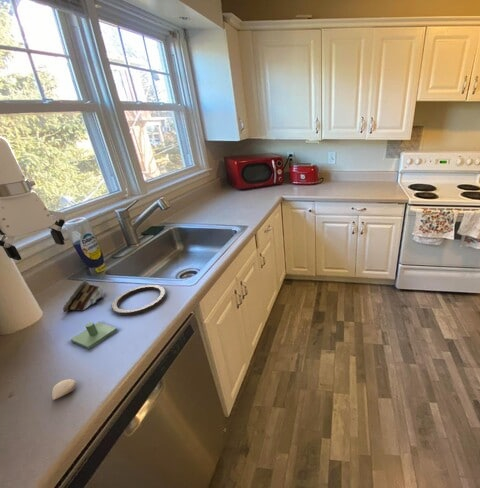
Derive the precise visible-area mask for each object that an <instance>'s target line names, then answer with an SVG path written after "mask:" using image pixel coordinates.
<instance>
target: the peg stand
mask: <svg viewBox="0 0 480 488" xmlns="http://www.w3.org/2000/svg"><path fill="white" fill-rule="evenodd" d="M84 327H85V330H83V331H82V332H80V333H79V334H77V335H75V336H73V337H72V338H70V342H71V343H74V344H76V345H79V346H80V347H83V348H86V349H88V350H91V349H92V348H94V347H96V346H97V345H98V344H100V343H102V341H104V340H106V339H107V338H109V337H110V336H112V335H113V334H115V333H116V332H117V331H118V328H116V327H114V326H112V325H109V324H106V323H103V322H101V321H98V322H96V323H94V321H91V322H87V323H86V324H85V326H84Z"/></svg>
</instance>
